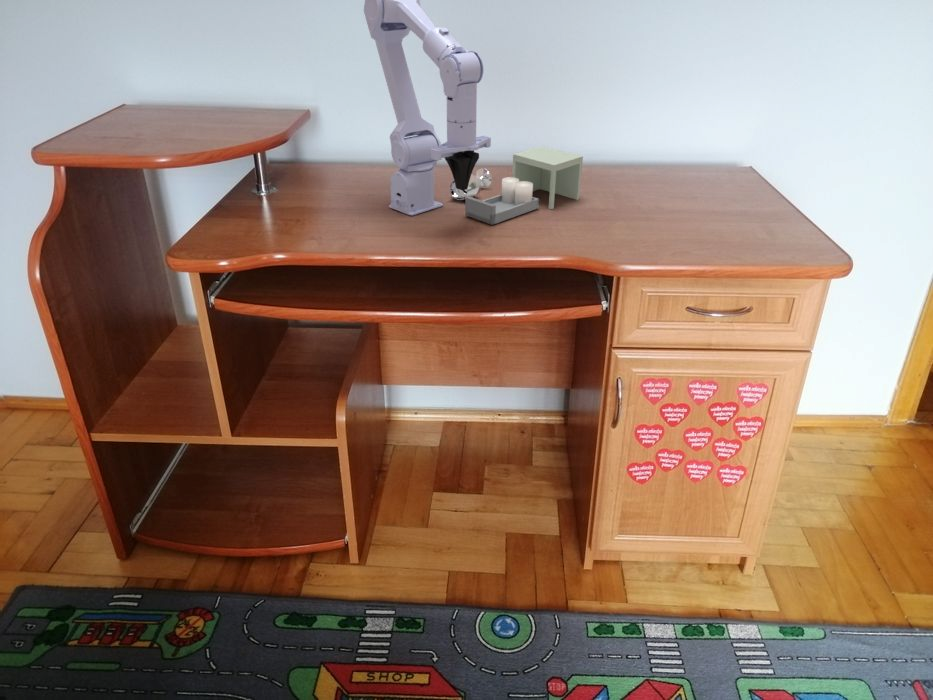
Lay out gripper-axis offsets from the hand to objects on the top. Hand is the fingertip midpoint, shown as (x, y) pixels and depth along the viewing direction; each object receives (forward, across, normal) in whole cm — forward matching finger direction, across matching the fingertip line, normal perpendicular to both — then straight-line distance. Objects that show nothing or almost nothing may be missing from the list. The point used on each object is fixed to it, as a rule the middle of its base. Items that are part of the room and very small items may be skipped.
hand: (461, 188), depth 142 cm
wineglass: (+6, +22, +15) cm, 27 cm away
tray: (+8, +12, 0) cm, 15 cm away
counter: (+8, +27, 0) cm, 28 cm away
